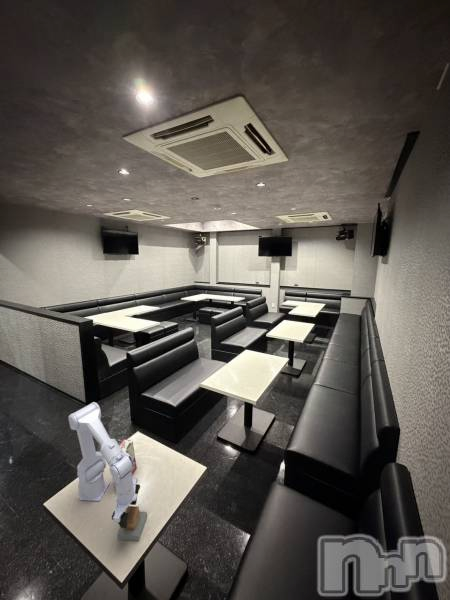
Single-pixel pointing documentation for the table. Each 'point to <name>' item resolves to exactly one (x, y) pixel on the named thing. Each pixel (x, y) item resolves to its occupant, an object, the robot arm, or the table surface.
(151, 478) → the table surface
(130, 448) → the candy bar box
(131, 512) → the walnut block
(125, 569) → the table surface
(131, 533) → the slate coaster
